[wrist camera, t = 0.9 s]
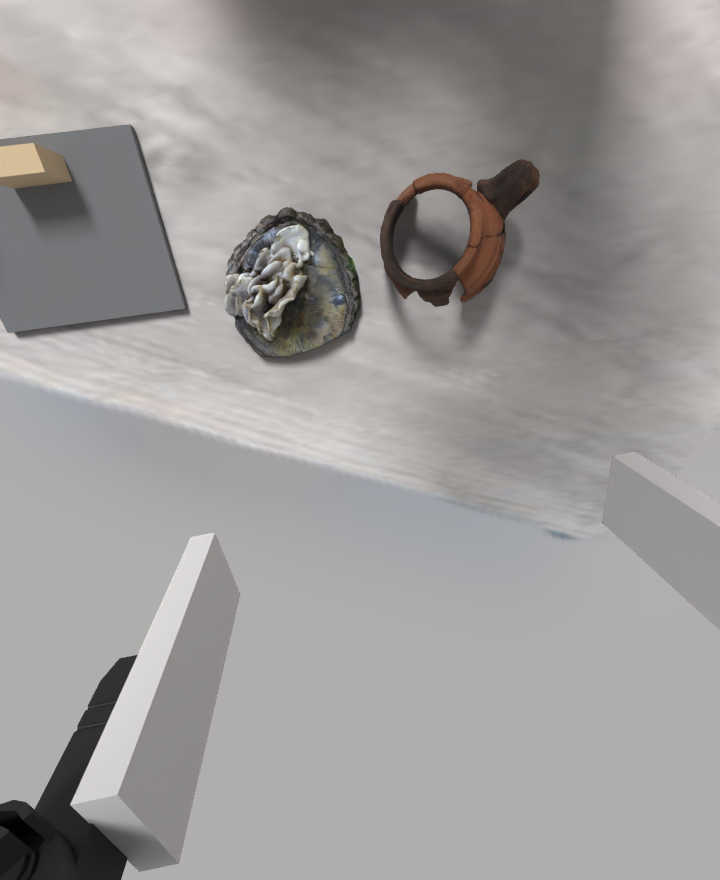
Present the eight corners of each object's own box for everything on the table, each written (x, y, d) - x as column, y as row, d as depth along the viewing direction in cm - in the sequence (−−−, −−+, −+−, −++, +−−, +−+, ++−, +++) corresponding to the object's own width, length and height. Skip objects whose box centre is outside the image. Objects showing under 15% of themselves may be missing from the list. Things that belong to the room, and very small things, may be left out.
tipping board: (-76, 151, 26) (-133, 134, 23) (133, 127, 26) (107, 107, 23) (13, 331, 31) (-23, 339, 28) (187, 307, 32) (172, 312, 28)
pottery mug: (445, 332, 35) (423, 331, 28) (381, 255, 36) (343, 235, 28) (566, 222, 30) (577, 186, 22) (487, 133, 30) (473, 69, 23)
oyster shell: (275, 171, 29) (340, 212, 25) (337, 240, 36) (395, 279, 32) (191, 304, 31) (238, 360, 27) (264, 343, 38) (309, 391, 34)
